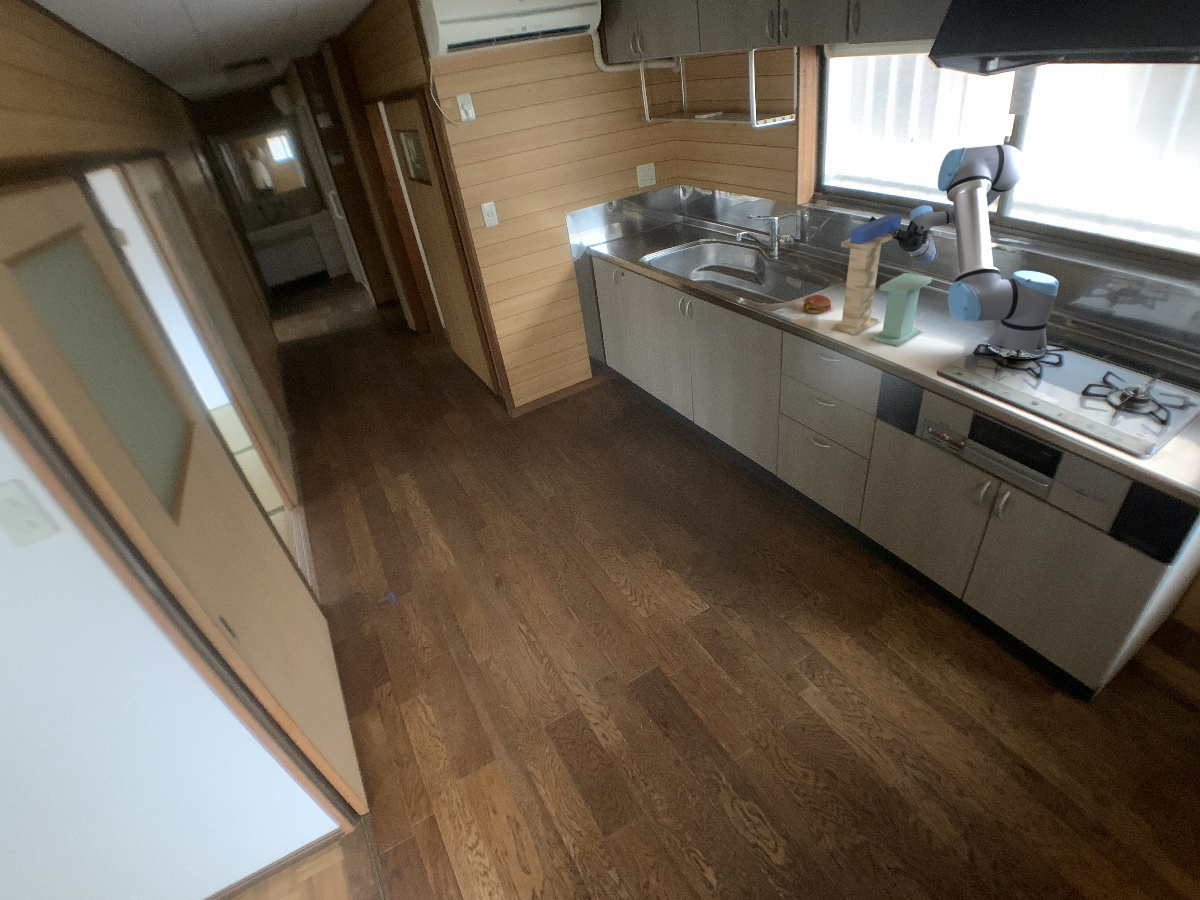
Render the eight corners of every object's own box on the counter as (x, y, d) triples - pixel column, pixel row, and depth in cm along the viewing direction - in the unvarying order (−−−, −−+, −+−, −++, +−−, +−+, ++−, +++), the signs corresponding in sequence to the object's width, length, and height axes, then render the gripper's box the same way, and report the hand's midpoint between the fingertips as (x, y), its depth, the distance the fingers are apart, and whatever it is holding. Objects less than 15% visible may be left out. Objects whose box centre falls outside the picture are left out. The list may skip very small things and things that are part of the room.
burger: (832, 306, 230) (834, 294, 227) (827, 315, 223) (828, 303, 221) (806, 304, 234) (807, 292, 232) (799, 312, 228) (800, 300, 225)
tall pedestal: (855, 316, 220) (867, 231, 203) (879, 321, 214) (892, 234, 197) (831, 329, 212) (841, 242, 196) (854, 335, 206) (866, 246, 190)
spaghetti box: (888, 225, 206) (890, 213, 204) (900, 227, 203) (902, 214, 201) (849, 242, 195) (851, 229, 193) (861, 244, 192) (863, 231, 190)
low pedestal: (895, 325, 209) (904, 272, 199) (921, 332, 203) (932, 277, 193) (871, 340, 202) (879, 285, 192) (897, 346, 196) (907, 291, 186)
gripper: (944, 257, 209) (922, 239, 194) (876, 247, 226) (851, 229, 212) (953, 235, 207) (932, 215, 193) (884, 227, 224) (860, 207, 210)
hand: (889, 222), depth 202 cm, fingers open, 13 cm apart
